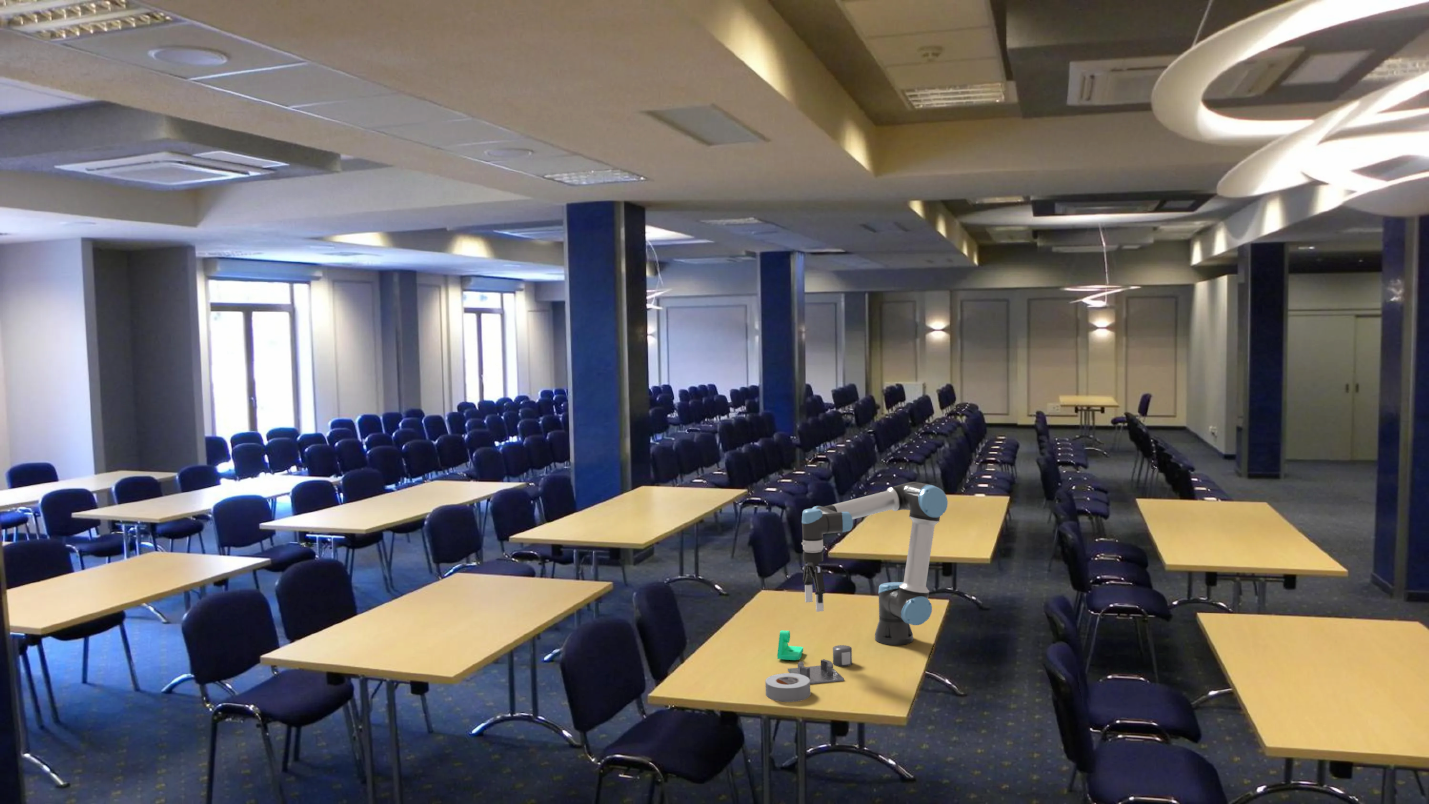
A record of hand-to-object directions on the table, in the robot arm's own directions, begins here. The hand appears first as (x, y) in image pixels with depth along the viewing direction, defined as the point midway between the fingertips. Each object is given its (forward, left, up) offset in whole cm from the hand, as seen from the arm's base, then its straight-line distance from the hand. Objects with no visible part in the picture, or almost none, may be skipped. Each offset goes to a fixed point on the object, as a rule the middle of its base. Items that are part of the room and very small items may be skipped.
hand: (814, 606), depth 375 cm
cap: (-9, +4, -21) cm, 24 cm away
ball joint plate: (+5, +14, -21) cm, 26 cm away
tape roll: (+20, +29, -22) cm, 42 cm away
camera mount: (+7, -9, -22) cm, 24 cm away
